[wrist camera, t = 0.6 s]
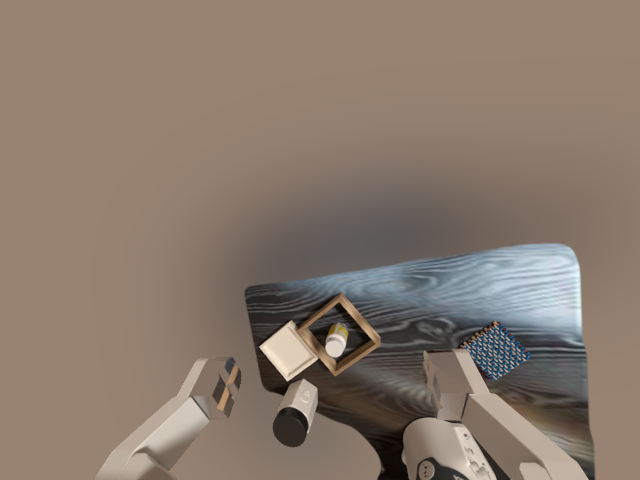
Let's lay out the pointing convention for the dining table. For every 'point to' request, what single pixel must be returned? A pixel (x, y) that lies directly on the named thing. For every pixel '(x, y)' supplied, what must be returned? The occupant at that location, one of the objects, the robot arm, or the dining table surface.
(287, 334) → the tray
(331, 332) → the supplement bottle
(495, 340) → the woven mat
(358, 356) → the frame
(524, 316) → the dining table surface
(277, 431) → the jar
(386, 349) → the dining table surface
